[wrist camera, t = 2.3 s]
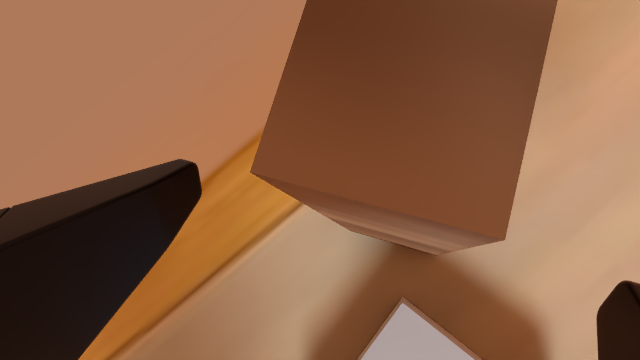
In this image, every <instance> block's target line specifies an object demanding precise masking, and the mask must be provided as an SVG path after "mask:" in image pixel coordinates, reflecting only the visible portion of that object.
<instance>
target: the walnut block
mask: <svg viewBox="0 0 640 360" xmlns="http://www.w3.org/2000/svg"><path fill="white" fill-rule="evenodd" d="M556 5H557V0H307V2H306V5H305V8H304V11H303V14H302V17H301V20H300V23H299V26H298V29H297V32H296V35H295V38H294V41H293V44H292V47H291V50H290V53H289V56H288V59H287V62H286V65H285V68H284V71H283V74H282V77H281V80H280V83H279V86H278V89H277V93H276V95H275V98H274V101H273V104H272V107H271V111H270V113H269V116H268V120H267V122H266V125H265V128H264V132H263V135H262V138H261V141H260V144H259V147H258V150H257V153H256V156H255V159H254V162H253V165H252V168H251V171H250V173H252V174H254V175H256V176H257V177H259V178H261V179H262V180H264V181H266V182H268V183H269V184H271V185H273V186H274V187H276V188H278V189H280V190H281V191H283V192H285V193H286V194H288V195H290V196H292V197H293V198H295V199H297V200H299V201H300V202H302V203H304V204H305V205H307V206H309V207H311V208H312V209H314V210H316V211H317V212H319V213H321V214H323V215H324V216H326V217H328V218H329V219H331V220H333V221H335V222H336V223H338V224H340V225H341V226H343V227H345V228H347V229H348V230H350V231H354V232H357V233H360V234H364V235H367V236H371V237H374V238H378V239H381V240H385V241H388V242H391V243H395V244H398V245H402V246H405V247H409V248H412V249H416V250H419V251H423V252H426V253H429V254H433V255H439V254H443V253H448V252H452V251H457V250H462V249H466V248H471V247H475V246H480V245H484V244H489V243H494V242H498V241H503V240H505V237H506V232H507V228H508V223H509V219H510V214H511V209H512V205H513V200H514V196H515V191H516V187H517V182H518V178H519V173H520V168H521V164H522V159H523V155H524V150H525V146H526V141H527V137H528V132H529V128H530V123H531V118H532V114H533V109H534V105H535V100H536V96H537V91H538V87H539V82H540V77H541V73H542V68H543V64H544V59H545V55H546V50H547V46H548V41H549V36H550V32H551V27H552V23H553V18H554V14H555V9H556Z"/></svg>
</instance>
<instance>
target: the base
mask: <svg viewBox="0 0 640 360" xmlns="http://www.w3.org/2000/svg"><path fill="white" fill-rule="evenodd" d="M357 360H483V359H481V358H480V357H479V356H477V355H476V354H475V353H474V352H472V351H471V350H470V349H469V348H467V347H466V346H465V345H463V344H462V343H461V342H460V341H458V340H457V339H456V338H455V337H453V336H452V335H451V334H450V333H448V332H447V331H446V330H444V329H443V328H442V327H441V326H439V325H438V324H437V323H436V322H434V321H433V320H432V319H430V318H429V317H428V316H427V315H425V314H424V313H423V312H422V311H420V310H419V309H418V308H416V307H415V306H414V305H413V304H411V303H410V302H409V301H408V300H406V299H405V298H404V297H402V298H401V300H400V301H399V302H398V304H397V305H396V307H395V308H394V309H393V311H392V312H391V313H390V315H389V316H388V317H387V319H386V320H385V322H384V323H383V324H382V326H381V327H380V328H379V330H378V331H377V333H376V334H375V335H374V337H373V338H372V339H371V341H370V342H369V344H368V345H367V346H366V348H365V349H364V350H363V352H362V353H361V354H360V356H359V357H358V359H357Z"/></svg>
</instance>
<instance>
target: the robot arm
mask: <svg viewBox="0 0 640 360" xmlns="http://www.w3.org/2000/svg"><path fill="white" fill-rule="evenodd" d="M201 194H202V188H201V182H200V176H199V170H198V167H197V165H196V164H195V163H193V162H190V161H187V160H183V159H178V160H175V161H171V162H167V163H164V164H160V165H157V166H153V167H150V168H146V169H142V170H139V171H135V172H132V173H128V174H125V175H121V176H118V177H114V178H111V179H107V180H103V181H100V182H96V183H93V184H89V185H86V186H82V187H79V188H75V189H72V190H68V191H65V192H61V193H58V194H54V195H50V196H47V197H43V198H40V199H36V200H33V201H29V202H26V203H22V204H19V205H15V206H13V207H12V208H9V207H8V208H4V209H0V360H78V359H79V358H80V357H81V355H82V354H83V353H84V352H85V350H86V349H87V348H88V347H89V345H90V344H91V343H92V342H93V340H94V339H95V338H96V337H97V335H98V334H99V333H100V332H101V330H102V329H103V328H104V327H105V326H106V324H107V323H108V322H109V321H110V319H111V318H112V317H113V316H114V314H115V313H116V312H117V311H118V309H119V308H120V307H121V306H122V304H123V303H124V302H125V301H126V299H127V298H128V297H129V296H130V295H131V293H132V292H133V291H134V290H135V288H136V287H137V286H138V285H139V283H140V282H141V281H142V280H143V278H144V277H145V276H146V275H147V273H148V272H149V271H150V270H151V268H152V267H153V266H154V265H155V263H156V262H157V261H158V260H159V259H160V257H161V256H162V255H163V253H164V252H165V251H166V250H167V248H168V247H169V245H170V244H171V242H172V241H173V240H174V238H175V237H176V235H177V233H178V232H179V230H180V229H181V227H182V226H183V224H184V223H185V221H186V220H187V218H188V217H189V215H190V213H191V212H192V210H193V209H194V207H195V206H196V204H197V203H198V201H199V199H200V197H201ZM597 340H598V360H640V284H639V283H636V282H632V281H622V282H620V283H619V284H618V285H617V286H616V287H615V288H614V290H613V291H612V292H611V293H610V295H609V296H608V297H607V299H606V300H605V301H604V302H603V304H602V305H601V306H600V308H599V310H598V313H597Z"/></svg>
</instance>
